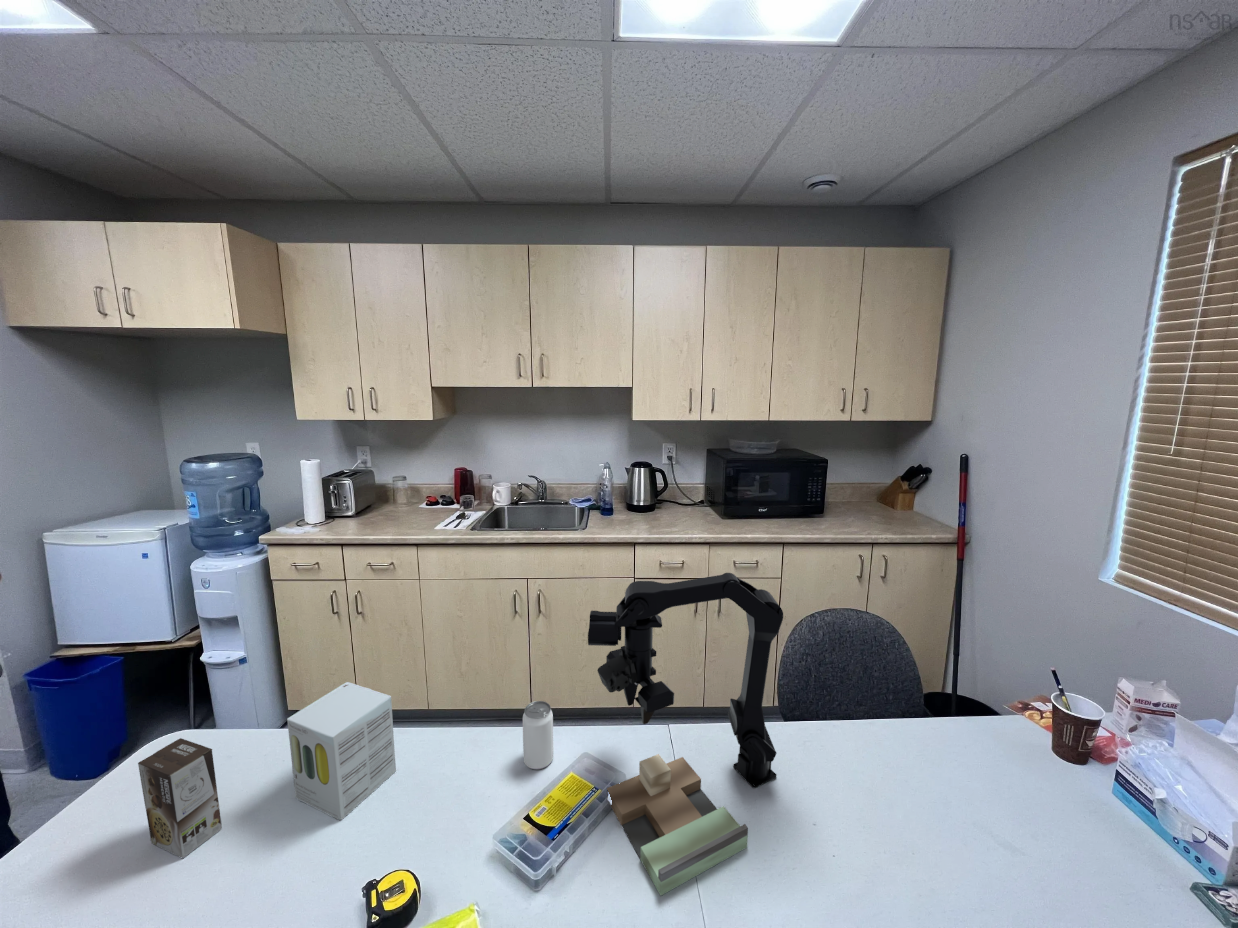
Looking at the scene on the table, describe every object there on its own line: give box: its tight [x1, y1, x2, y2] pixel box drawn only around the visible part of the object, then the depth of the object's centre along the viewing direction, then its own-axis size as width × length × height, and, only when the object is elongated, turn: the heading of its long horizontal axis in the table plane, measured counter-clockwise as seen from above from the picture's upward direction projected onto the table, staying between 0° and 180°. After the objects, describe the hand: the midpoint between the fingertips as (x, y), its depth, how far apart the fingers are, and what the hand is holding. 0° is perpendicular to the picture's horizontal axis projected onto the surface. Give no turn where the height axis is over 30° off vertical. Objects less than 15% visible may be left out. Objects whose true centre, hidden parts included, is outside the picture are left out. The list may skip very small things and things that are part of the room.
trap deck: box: [606, 756, 749, 896], centre depth 86 cm, size 20×18×4 cm
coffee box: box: [137, 737, 223, 859], centre depth 82 cm, size 9×6×16 cm
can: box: [522, 700, 554, 770], centre depth 101 cm, size 6×6×12 cm
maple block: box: [638, 753, 671, 796], centre depth 92 cm, size 4×4×4 cm
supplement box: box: [286, 681, 397, 821], centre depth 93 cm, size 13×13×18 cm
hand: (637, 713), depth 97 cm, fingers open, 6 cm apart
